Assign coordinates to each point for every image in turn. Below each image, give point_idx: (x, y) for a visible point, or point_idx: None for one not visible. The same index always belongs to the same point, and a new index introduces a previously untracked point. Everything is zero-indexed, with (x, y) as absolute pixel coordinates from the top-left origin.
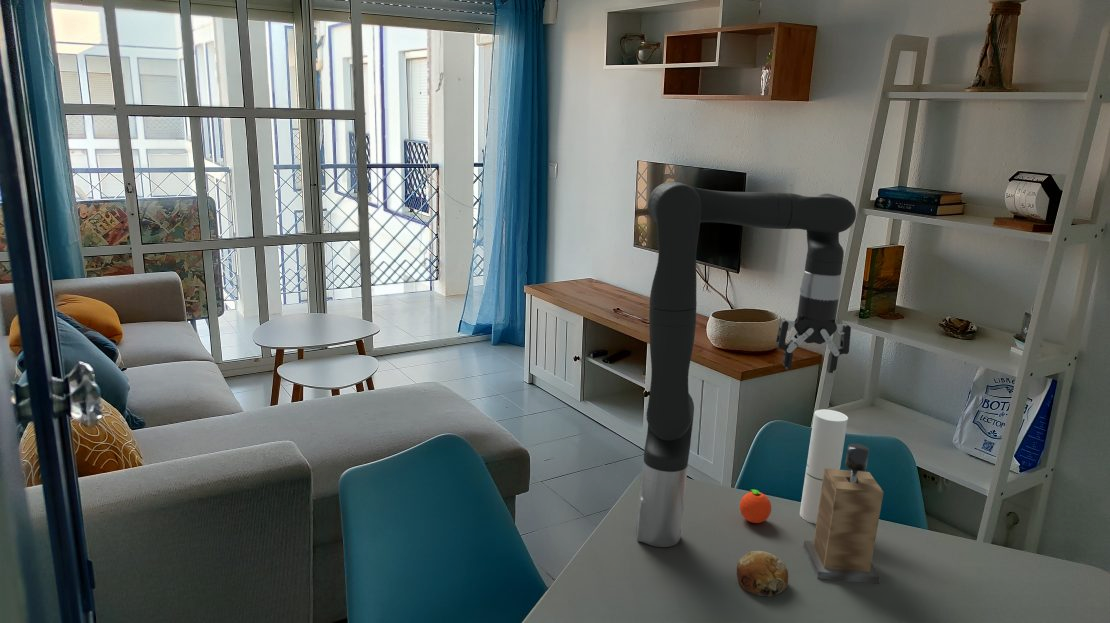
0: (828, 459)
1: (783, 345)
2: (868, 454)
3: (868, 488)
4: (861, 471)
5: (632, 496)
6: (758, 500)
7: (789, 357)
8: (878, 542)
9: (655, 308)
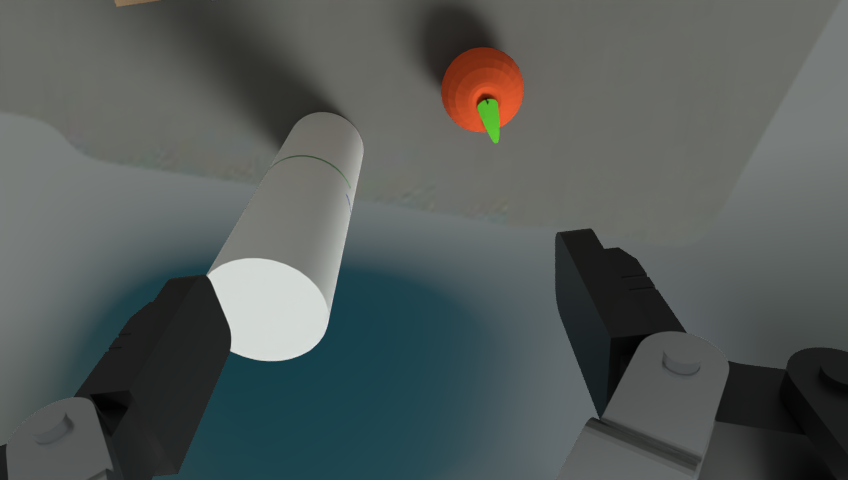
0: (284, 184)
1: (819, 394)
2: None
3: None
4: (146, 1)
5: (769, 116)
6: (484, 73)
7: (629, 296)
8: (176, 64)
9: None
